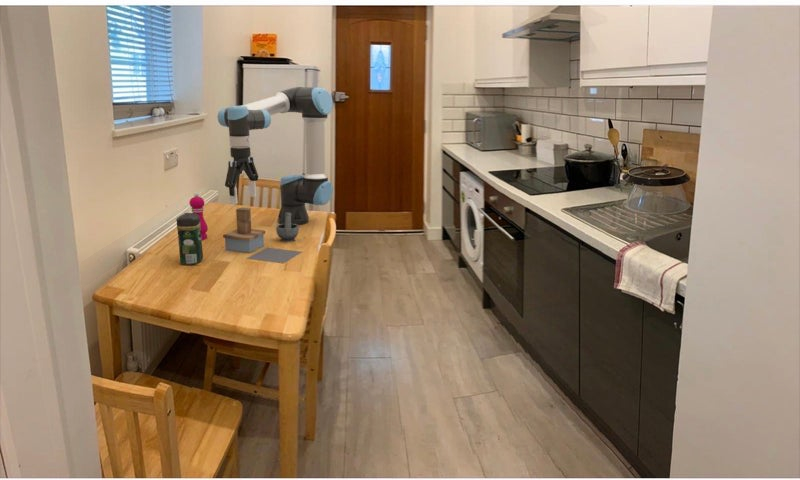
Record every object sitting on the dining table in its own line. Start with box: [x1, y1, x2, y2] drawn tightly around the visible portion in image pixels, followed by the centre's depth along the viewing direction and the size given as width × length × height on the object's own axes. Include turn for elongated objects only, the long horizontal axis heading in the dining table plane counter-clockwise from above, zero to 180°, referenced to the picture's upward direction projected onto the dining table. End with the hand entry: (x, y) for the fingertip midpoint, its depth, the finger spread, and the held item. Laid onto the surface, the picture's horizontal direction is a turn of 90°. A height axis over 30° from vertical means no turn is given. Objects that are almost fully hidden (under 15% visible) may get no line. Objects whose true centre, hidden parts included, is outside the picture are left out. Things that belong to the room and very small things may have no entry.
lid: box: [222, 206, 266, 241], centre depth 220 cm, size 12×12×11 cm
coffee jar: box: [176, 212, 204, 266], centre depth 204 cm, size 10×8×19 cm
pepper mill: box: [189, 192, 209, 241], centre depth 234 cm, size 7×7×20 cm
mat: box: [246, 247, 303, 264], centre depth 215 cm, size 16×16×1 cm
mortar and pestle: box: [275, 213, 300, 243], centre depth 235 cm, size 11×9×12 cm
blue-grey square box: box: [224, 234, 265, 254], centre depth 222 cm, size 11×11×6 cm
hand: (243, 200), depth 218 cm, fingers open, 13 cm apart
